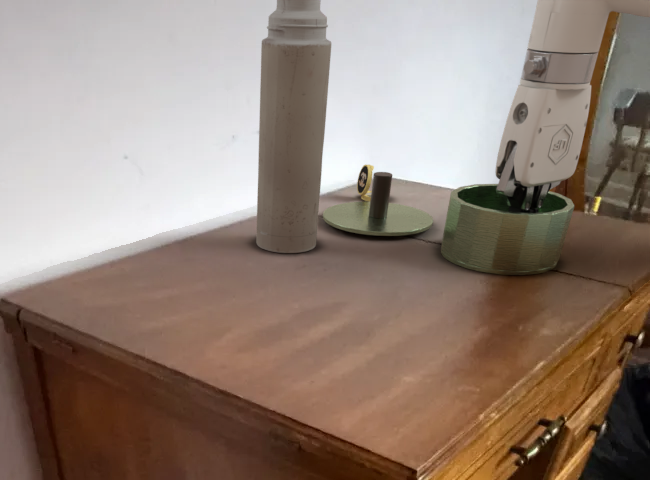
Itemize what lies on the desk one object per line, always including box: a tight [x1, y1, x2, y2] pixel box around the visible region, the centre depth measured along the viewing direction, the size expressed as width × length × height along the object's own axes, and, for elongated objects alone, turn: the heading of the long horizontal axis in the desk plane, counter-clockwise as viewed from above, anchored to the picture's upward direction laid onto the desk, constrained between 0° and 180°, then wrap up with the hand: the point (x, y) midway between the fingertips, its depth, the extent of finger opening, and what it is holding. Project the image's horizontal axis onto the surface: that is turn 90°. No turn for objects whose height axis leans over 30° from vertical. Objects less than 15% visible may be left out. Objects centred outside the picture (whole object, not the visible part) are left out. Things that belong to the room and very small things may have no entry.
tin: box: [440, 183, 575, 276], centre depth 91 cm, size 15×15×7 cm
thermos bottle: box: [255, 0, 332, 254], centre depth 87 cm, size 8×8×28 cm
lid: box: [322, 171, 434, 237], centre depth 102 cm, size 16×16×7 cm
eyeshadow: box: [356, 164, 375, 202], centre depth 113 cm, size 4×5×5 cm
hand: (516, 239), depth 92 cm, fingers closed
